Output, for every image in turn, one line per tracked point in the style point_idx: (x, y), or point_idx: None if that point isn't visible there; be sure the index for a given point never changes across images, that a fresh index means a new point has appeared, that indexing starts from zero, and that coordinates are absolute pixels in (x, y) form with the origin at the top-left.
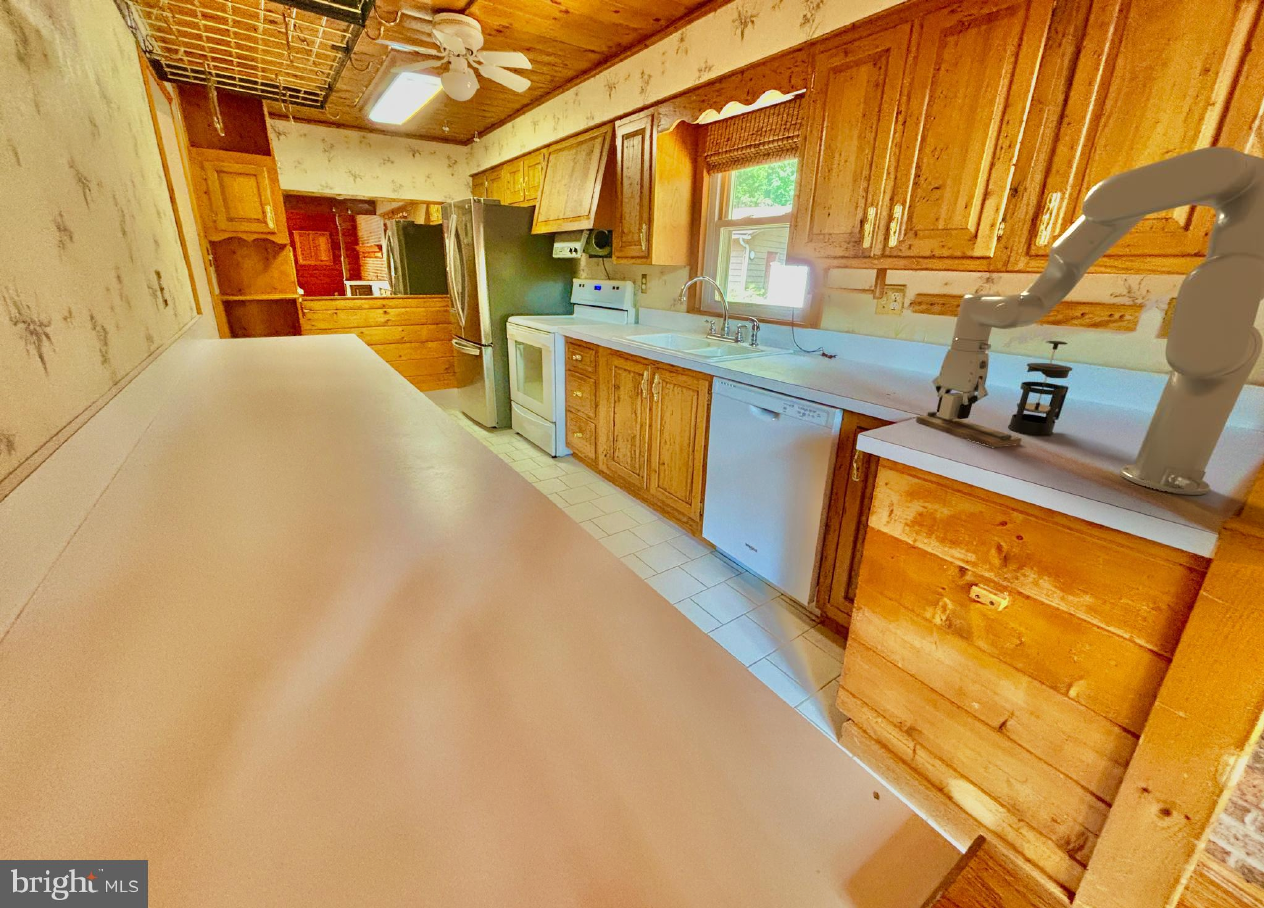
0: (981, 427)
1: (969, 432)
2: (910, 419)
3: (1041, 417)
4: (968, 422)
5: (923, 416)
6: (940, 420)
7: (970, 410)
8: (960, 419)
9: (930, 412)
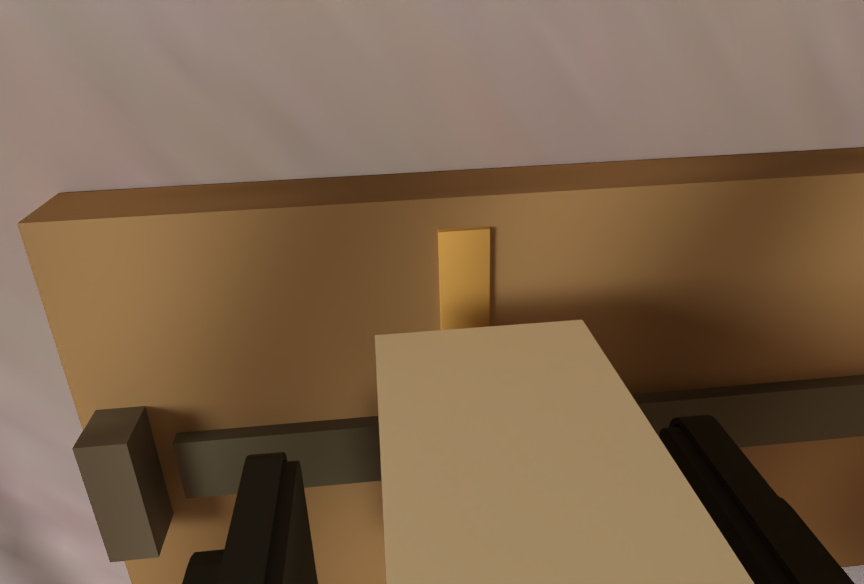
0: (832, 247)
1: (847, 528)
2: (60, 574)
3: None
4: (591, 223)
5: (160, 578)
6: (378, 509)
7: (837, 568)
8: (440, 232)
9: (129, 539)
